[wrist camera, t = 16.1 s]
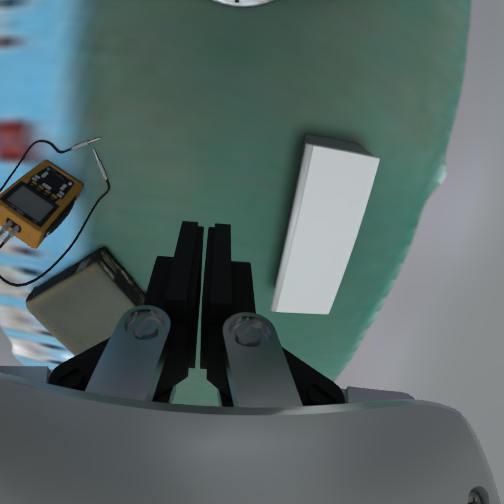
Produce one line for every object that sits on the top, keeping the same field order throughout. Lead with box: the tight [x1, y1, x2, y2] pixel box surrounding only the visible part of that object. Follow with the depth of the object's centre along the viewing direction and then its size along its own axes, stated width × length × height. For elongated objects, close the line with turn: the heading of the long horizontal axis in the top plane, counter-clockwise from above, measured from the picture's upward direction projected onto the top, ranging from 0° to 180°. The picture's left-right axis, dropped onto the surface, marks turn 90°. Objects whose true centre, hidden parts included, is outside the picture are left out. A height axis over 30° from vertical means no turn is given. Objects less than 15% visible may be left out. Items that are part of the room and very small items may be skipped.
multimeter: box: [0, 138, 110, 287], centre depth 28 cm, size 15×10×20 cm
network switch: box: [26, 248, 145, 356], centre depth 50 cm, size 23×23×5 cm
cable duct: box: [274, 134, 373, 287], centre depth 42 cm, size 24×7×5 cm, turn 173°
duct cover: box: [270, 143, 380, 314], centre depth 40 cm, size 24×9×1 cm, turn 173°
